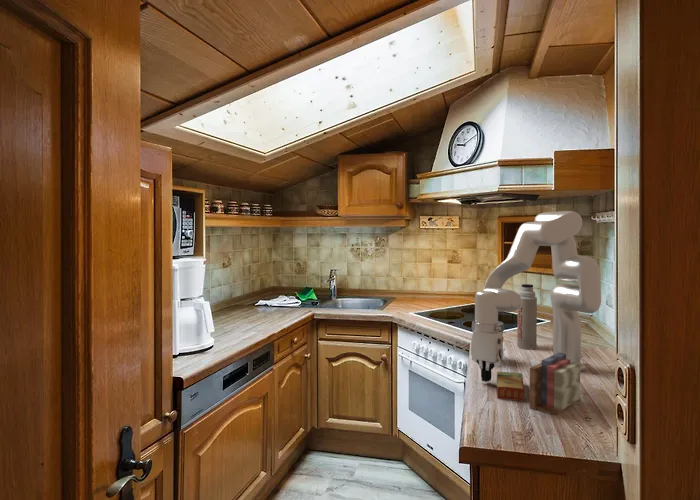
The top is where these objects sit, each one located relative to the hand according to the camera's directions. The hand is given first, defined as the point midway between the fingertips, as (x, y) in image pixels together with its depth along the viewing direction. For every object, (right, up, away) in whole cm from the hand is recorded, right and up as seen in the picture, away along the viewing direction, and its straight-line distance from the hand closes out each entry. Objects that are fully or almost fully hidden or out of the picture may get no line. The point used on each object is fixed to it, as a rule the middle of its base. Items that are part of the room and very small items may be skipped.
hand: (486, 380), depth 152 cm
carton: (+6, -2, -7) cm, 9 cm away
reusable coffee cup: (+9, 0, +28) cm, 30 cm away
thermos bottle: (+32, +1, +45) cm, 56 cm away
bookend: (+16, -2, -18) cm, 24 cm away
